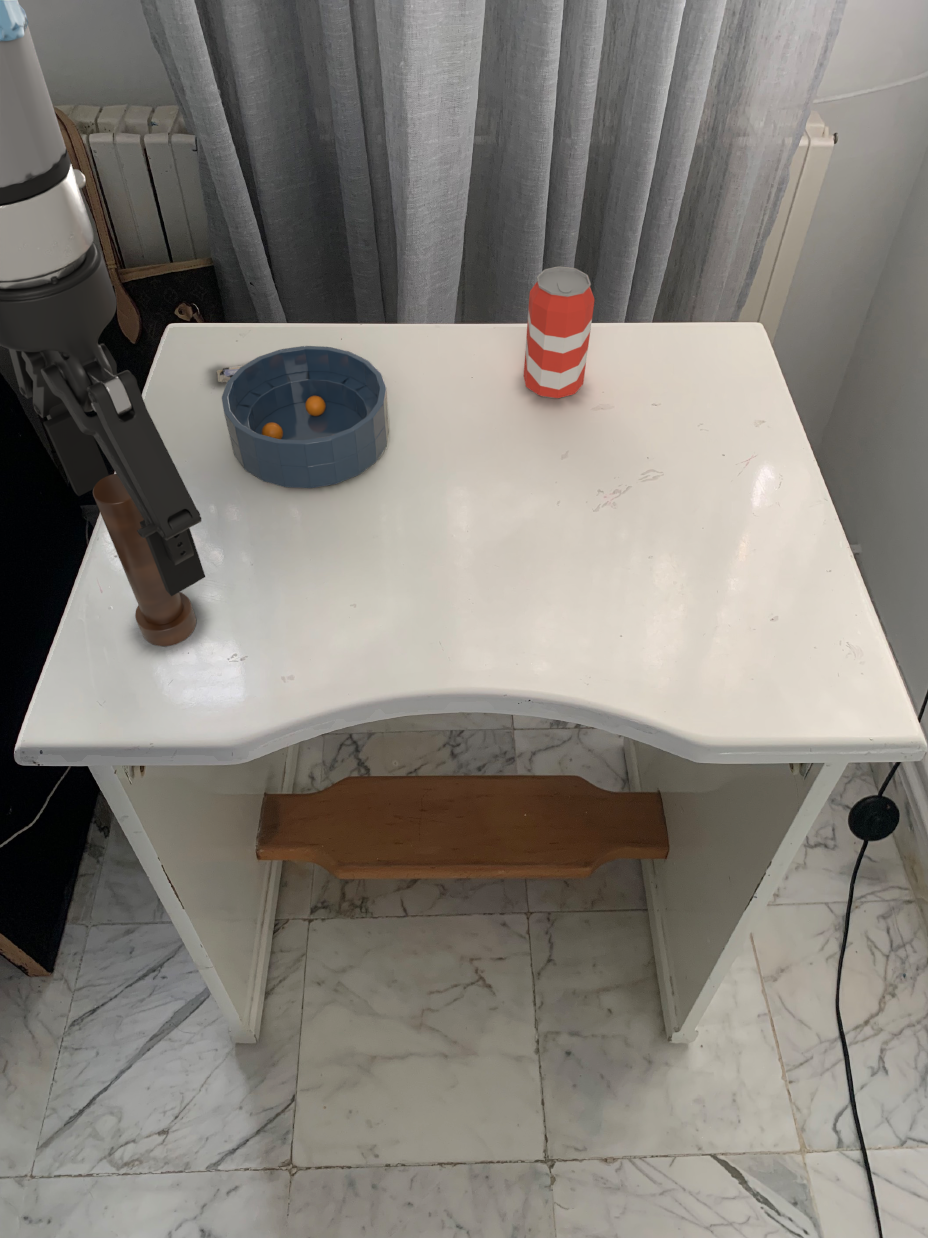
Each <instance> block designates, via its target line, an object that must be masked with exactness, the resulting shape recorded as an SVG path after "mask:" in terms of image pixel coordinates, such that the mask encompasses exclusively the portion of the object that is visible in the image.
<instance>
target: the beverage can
mask: <svg viewBox="0 0 928 1238" xmlns="http://www.w3.org/2000/svg"><path fill="white" fill-rule="evenodd" d="M591 285H592V283H591V280H590V277H589V274H588V273H585V272H583V271H582V270H580V269H578V268H575V267H568V266H559V265H558V266H555V267H549V268H545V269H543V270H542V271H541V272H540V273H539V274H538V275H537V276H536V282H535V284H534V285H533V286H532V288H531V289H530V290H529V296H528V309H527V310H528V311H527V321H526V323H527V325H526V337H525V349H524V350H525V351H524V361H523V362H524V364H523V380H524V383H525V387H526V389H528V390H530V391H531V392H533V393H535V394H536V395H538V396H541V397H542V398H548V399H554V400H557V399H560V398H564V397H569V396H572V395H576V393H577V392H578V391H579V390H580V388H582V386H583V385H584V381H585V373H586V368H587V367H586V366H587V359H588V351H589V345H590V337H591V329H592V322H593V314H594V307H595V296H594V293H593V291H592V288H591Z"/></svg>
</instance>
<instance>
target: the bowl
mask: <svg viewBox="0 0 928 1238" xmlns="http://www.w3.org/2000/svg"><path fill="white" fill-rule="evenodd" d="M241 366H242V367H240V368H239V369H238V371H237V372H236V373H235V374H234V375H233V376H232V377H231V378H230V379H229V380H228V382H226V384H225V387H224V389H223V392H222V394H221V403H222V410H223V414H224V418H225V423H226V427H227V432H228V436H229V439H230V444H231V448H232V452H233V456H234V458H235V459H236V460H237V461H238V463H239V465H240V466H241V467H242V469H244V471H246V472H247V473H249V474H251V475H252V476H254V477H256V478H257V479H259V480H261V481H262V482H265V483H269V484H273V485H276V486H279V487H283V488H294V489H296V488H297V489H315V488H321V487H328V486H332V485H333V486H334V485H337V484H340V483H343V482H345V481H347V480H350V479H352V478H355V477H357V476H360V475H361V474H362V473H364V472H365V471H366V470H368V469H369V468H370V467H372V466H373V465H374V464H376V463H377V462H378V460H379V459H380V457H381V456H382V454H383V453H384V452H385V450H386V449H387V447H388V441H389V435H390V423H389V408H388V395H387V394H388V392H387V385H386V383H385V380H384V377H383V374H382V372H381V371H380V370H378V369H377V368H376V366H375V365H374V364H373V363H372V362H371V361H370V360H368V359H366V358H364V357H362V356H360V355H358V354H356V353H354V352H352V351H349V350H344V349H342V348H337V347H332V346H324V345H323V346H321V345H300V346H294V347H286V348H280V349H278V350H274V351H272V352H271V351H270V352H268V353H265V354H263V355H259V356H257V357H255V358H254V359H252V360H250V361H248V362H247V363H245V364H244V366H243V365H241ZM311 396H319V397H321V398H322V399H323V400H324V402H325V405H326V407H325V411H324V412H323V414H321V415H320V416H312V415H310V414H309V413H308V412H307V410H306V407H305V404H306V401H307V399H308V398H309V397H311ZM267 423H276V424H278V425H279V426H280V427H281V428H282V431H283V436H282V439H276V438H273V437H269V436H265V435H262V429H263V427H264V426H265V425H266V424H267Z"/></svg>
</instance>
